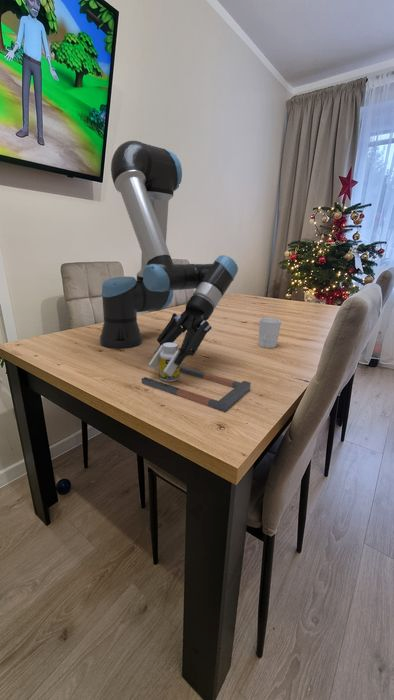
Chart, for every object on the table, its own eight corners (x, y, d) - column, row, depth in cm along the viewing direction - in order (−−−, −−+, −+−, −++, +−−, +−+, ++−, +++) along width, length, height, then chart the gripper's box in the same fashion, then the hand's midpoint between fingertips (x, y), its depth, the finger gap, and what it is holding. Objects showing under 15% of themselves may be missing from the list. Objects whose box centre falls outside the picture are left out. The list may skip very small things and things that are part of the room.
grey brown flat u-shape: (141, 382, 81) (141, 376, 80) (173, 367, 92) (173, 361, 91) (225, 411, 68) (225, 403, 68) (250, 389, 80) (250, 382, 79)
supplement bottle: (164, 383, 81) (164, 348, 78) (156, 376, 85) (156, 342, 82) (182, 380, 83) (183, 346, 80) (174, 373, 88) (175, 340, 85)
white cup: (276, 343, 120) (279, 318, 117) (279, 349, 113) (282, 323, 110) (256, 341, 121) (258, 317, 118) (257, 348, 113) (260, 321, 110)
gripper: (234, 316, 84) (191, 387, 78) (186, 305, 96) (145, 367, 89) (223, 298, 79) (176, 374, 72) (174, 289, 90) (130, 354, 84)
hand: (159, 370), depth 81 cm, fingers closed on supplement bottle, 5 cm apart
